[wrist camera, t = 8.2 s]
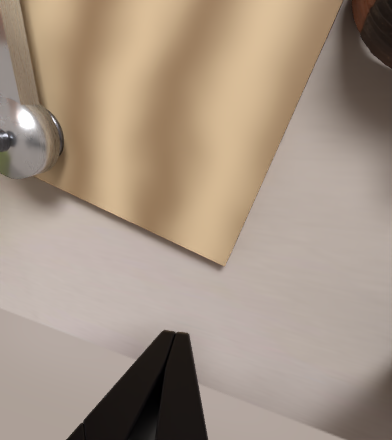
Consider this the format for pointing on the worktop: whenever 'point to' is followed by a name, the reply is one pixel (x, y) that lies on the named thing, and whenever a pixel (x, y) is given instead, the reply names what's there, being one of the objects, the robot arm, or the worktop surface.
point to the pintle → (2, 141)
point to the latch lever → (22, 103)
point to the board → (173, 104)
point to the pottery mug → (375, 26)
